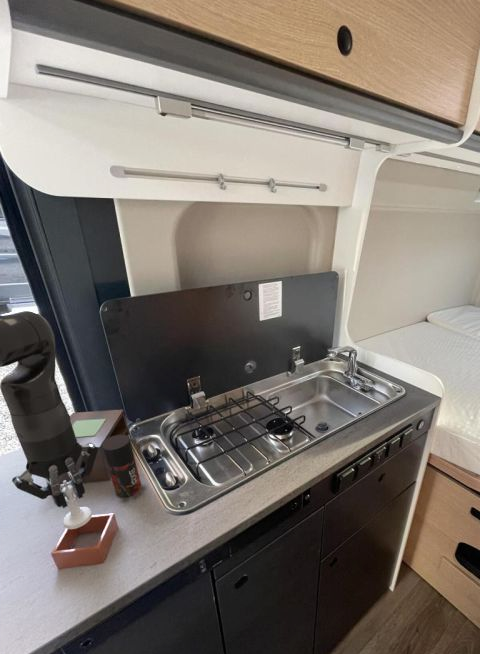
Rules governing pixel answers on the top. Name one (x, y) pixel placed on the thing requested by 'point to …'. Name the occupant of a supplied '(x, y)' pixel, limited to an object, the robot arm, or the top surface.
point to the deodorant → (122, 465)
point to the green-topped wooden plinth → (96, 438)
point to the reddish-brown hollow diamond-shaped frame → (87, 555)
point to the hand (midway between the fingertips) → (71, 500)
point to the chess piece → (74, 509)
